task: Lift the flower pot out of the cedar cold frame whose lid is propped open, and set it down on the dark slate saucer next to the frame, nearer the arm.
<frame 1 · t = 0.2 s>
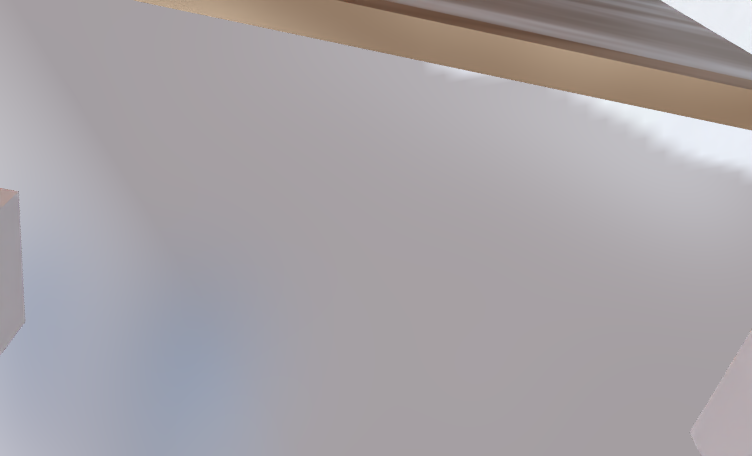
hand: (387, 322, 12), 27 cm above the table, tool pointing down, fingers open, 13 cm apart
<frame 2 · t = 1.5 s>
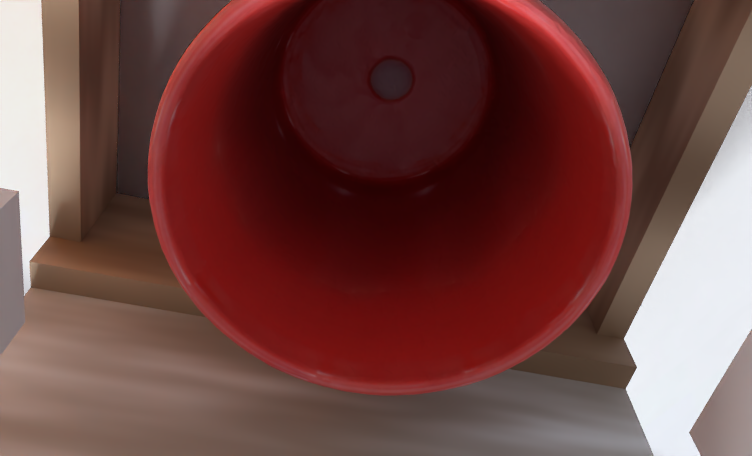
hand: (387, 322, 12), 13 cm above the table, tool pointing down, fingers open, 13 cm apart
flower pot: (388, 74, 24), resting in cold frame
cold frame: (388, 76, 23), on the table
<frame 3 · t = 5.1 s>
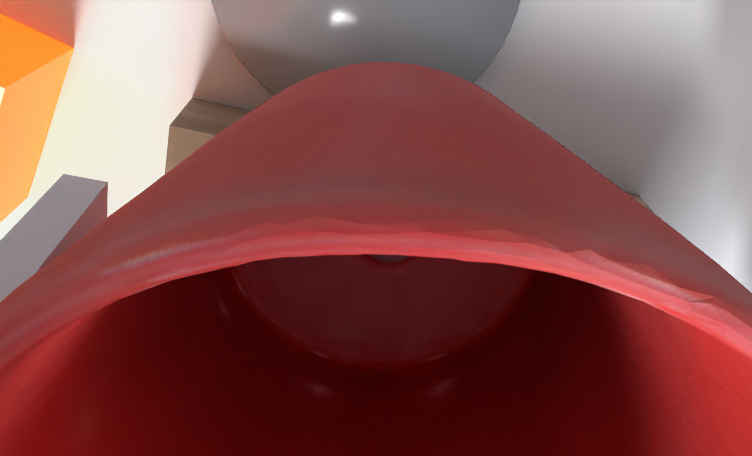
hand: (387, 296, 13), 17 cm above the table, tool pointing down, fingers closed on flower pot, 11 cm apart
flower pot: (386, 218, 16), point 14 cm above the table, touching gripper
cold frame: (383, 291, 33), on the table
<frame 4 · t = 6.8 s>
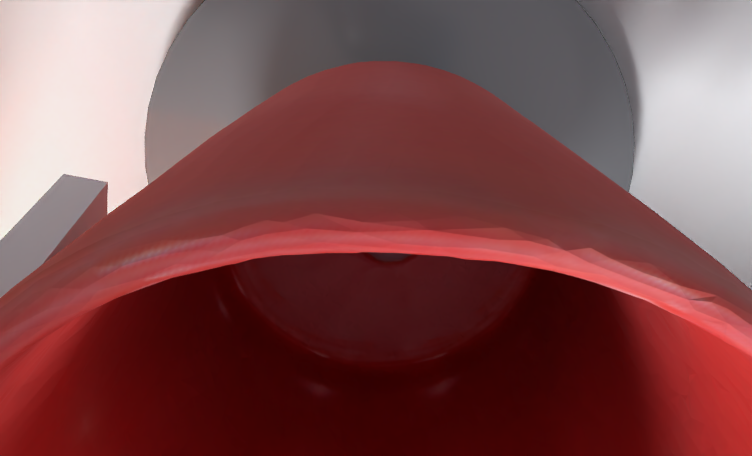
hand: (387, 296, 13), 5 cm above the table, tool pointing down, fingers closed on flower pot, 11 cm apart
flower pot: (386, 217, 16), point 2 cm above the table, touching gripper
slate saucer: (388, 174, 18), on the table
when the fingers open (4 cm above the table, at t = 7.7 s): flower pot stays where it is, resting on slate saucer.
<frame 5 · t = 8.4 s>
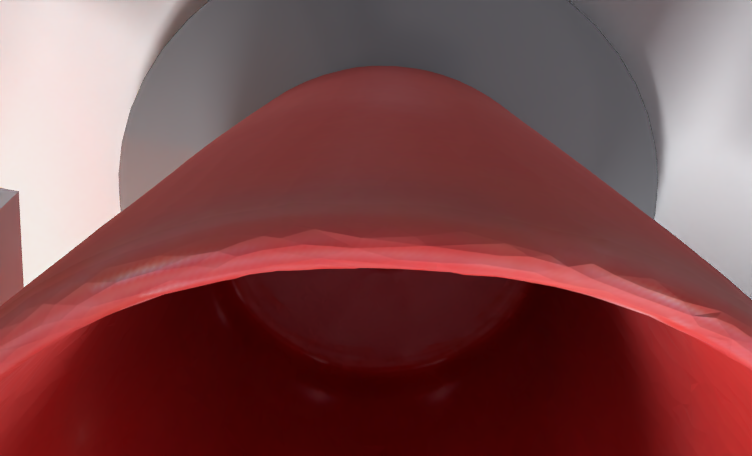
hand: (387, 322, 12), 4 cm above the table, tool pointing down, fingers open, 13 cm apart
flower pot: (385, 223, 16), resting on slate saucer
slate saucer: (386, 212, 16), on the table
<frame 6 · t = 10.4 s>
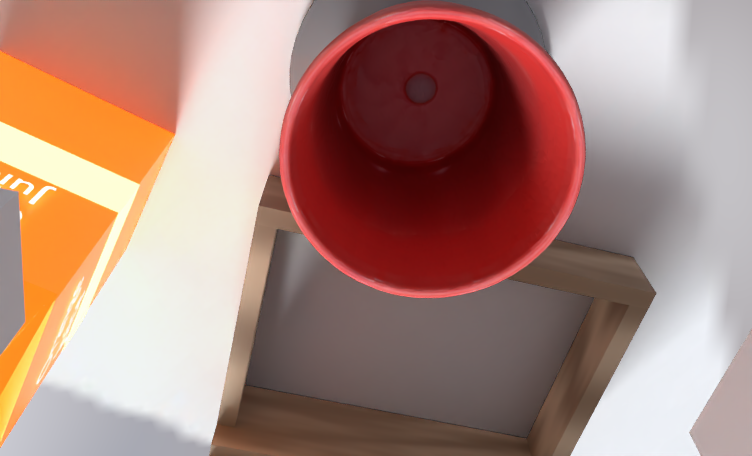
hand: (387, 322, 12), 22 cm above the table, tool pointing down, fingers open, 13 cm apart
flower pot: (417, 85, 32), resting on slate saucer
orange juice: (68, 155, 35), on the table
cold frame: (418, 329, 40), on the table
slate saucer: (417, 81, 33), on the table
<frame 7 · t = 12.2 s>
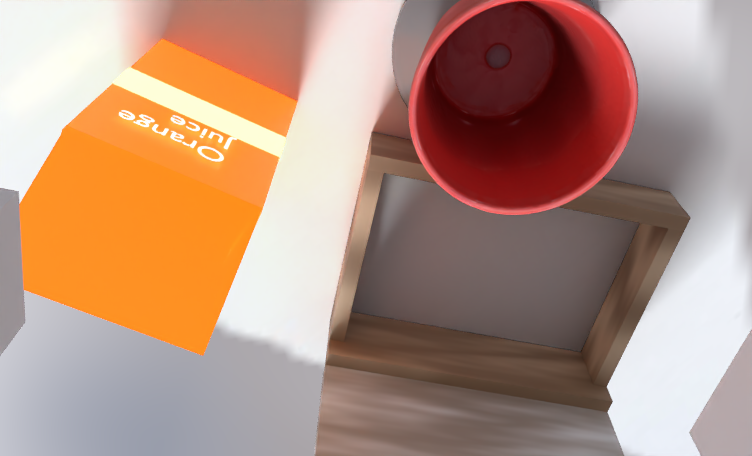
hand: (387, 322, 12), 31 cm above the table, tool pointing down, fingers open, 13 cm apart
flower pot: (493, 54, 41), resting on slate saucer
orange juice: (211, 121, 43), on the table
cold frame: (490, 259, 48), on the table
slate saucer: (493, 51, 41), on the table
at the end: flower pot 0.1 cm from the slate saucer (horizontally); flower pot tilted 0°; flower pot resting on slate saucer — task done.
